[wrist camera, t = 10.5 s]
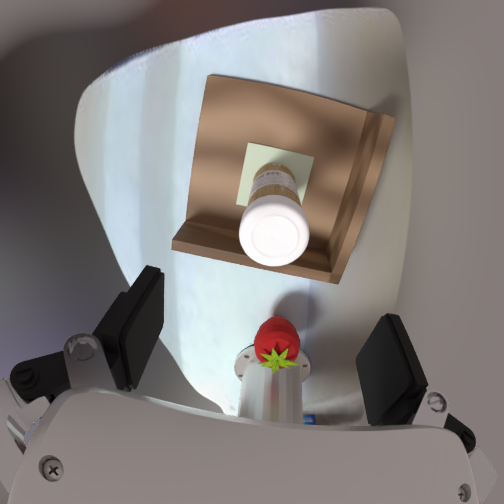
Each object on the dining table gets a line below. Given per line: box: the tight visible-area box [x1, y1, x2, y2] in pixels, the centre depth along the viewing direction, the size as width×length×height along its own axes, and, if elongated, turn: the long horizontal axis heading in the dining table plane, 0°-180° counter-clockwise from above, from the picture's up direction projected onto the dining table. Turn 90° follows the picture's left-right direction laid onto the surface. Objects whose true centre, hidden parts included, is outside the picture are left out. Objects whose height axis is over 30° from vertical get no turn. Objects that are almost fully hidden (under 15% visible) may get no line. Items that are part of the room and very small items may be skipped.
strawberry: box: [254, 316, 300, 375], centre depth 35 cm, size 6×8×10 cm
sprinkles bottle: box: [239, 163, 309, 266], centre depth 24 cm, size 5×5×13 cm
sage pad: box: [236, 142, 314, 206], centre depth 30 cm, size 7×7×1 cm
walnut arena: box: [172, 75, 396, 284], centre depth 27 cm, size 18×18×6 cm
